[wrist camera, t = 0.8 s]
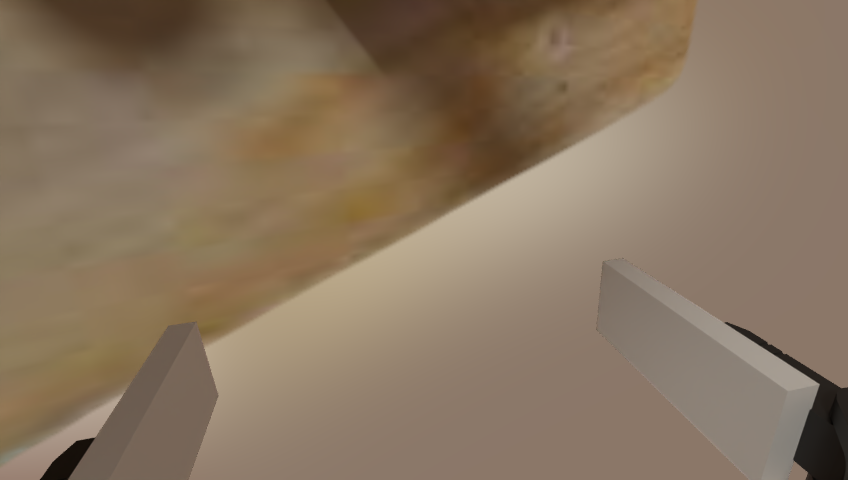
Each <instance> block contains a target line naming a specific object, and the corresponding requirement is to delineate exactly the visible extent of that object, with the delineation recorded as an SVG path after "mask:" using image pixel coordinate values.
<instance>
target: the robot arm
mask: <svg viewBox="0 0 848 480" xmlns="http://www.w3.org/2000/svg"><path fill="white" fill-rule="evenodd" d="M597 331H598V332H599V333H600V334H601V335H602V336H603V337H604V338H605V339H606V340H607V341H608V342H609V343H610V344H611V345H613V347H614V348H615V349H616V350H617V351H618V352H619V353H620V354H621V355H622V356H623V357H625V359H627V360H628V361H629V362H630V363H631V364H632V365H633V366H634V367H635V368H636V369H637V370H638V371H639V372H640V373H641V374H642V375H643V376H644V377H645V378H646V379H647V380H648V381H649V382H650V383H651V384H652V385H653V386H654V387H655V388H656V389H657V390H658V391H659V392H660V393H661V394H662V395H663V396H664V397H665V398H666V399H667V400H668V401H669V402H670V403H671V404H672V405H673V406H674V407H675V408H677V410H678V411H680V412H681V413H682V414H683V415H684V416H685V417H686V418H687V419H688V420H689V421H690V422H691V423H692V424H693V425H694V426H695V427H696V428H697V429H698V430H699V431H700V432H701V433H702V434H703V435H704V436H705V437H706V438H707V439H708V440H709V441H710V442H711V443H712V444H713V445H714V446H715V447H716V448H717V449H718V450H719V451H720V452H721V453H722V454H723V455H724V456H725V457H726V458H727V459H728V460H730V462H731V463H732V464H733V465H735V466H736V467H737V468H738V469H739V470H740V471H741V472H742V473H743V474H744V475H745V476H746V477H747V478H748V479H749V480H788V477H789V474H790V472H791V468H792V466H793V463H794V461H795V462H796V463H797V464H799V465H800V466H801V467H802V468H803V469H805V470H806V471H807V472H808V475H807V477H806V480H848V388H840V387H838V386H837V385H835V384H834V383H832V382H830V381H829V380H827V379H825V378H824V377H822V376H821V375H819V374H817V373H816V372H814V371H813V370H811V369H809V368H808V367H806V366H805V365H803V364H801V363H800V362H798V361H797V360H795V359H793V358H792V357H790V356H789V355H787V354H783V353H782V351H781V350H779V349H777V348H776V347H774V346H773V345H768V344H767V342H766V341H764V340H763V339H761V338H760V337H758V336H756V335H755V334H753V333H752V332H750V331H748V330H746V329H743V328H740V327H738V326H735V325H733V324H730V323H728V322H725V323H723V322H722V321H720V320H719V319H717V318H715V317H714V316H712V315H711V314H709V313H708V312H706V311H705V310H703V309H701V308H700V307H698V306H697V305H695V304H694V303H692V302H691V301H689V300H688V299H686V298H684V297H683V296H681V295H680V294H678V293H676V292H675V291H673V290H672V289H670V288H669V287H667V286H666V285H664V284H662V283H661V282H659V281H658V280H656V279H655V278H653V277H651V276H650V275H648V274H647V273H645V272H644V271H642V270H641V269H639V268H638V267H636V266H634V265H633V264H631V263H630V262H628V261H627V260H625V259H624V258H622V259H616V260H608V261H603V266H602V276H601V287H600V298H599V307H598V318H597ZM217 398H218V393H217V390H216V386H215V383H214V380H213V376H212V373H211V369H210V366H209V363H208V360H207V356H206V353H205V349H204V346H203V343H202V339H201V336H200V333H199V329H198V326H197V323H196V322H191V323H184V324H177V325H170V326H168V327H167V329H166V331H165V332H164V334H163V335H162V337H161V338H160V340H159V341H158V343H157V344H156V346H155V347H154V349H153V350H152V352H151V353H150V355H149V357H148V358H147V360H146V361H145V363H144V364H143V366H142V367H141V369H140V370H139V372H138V373H137V375H136V376H135V378H134V379H133V381H132V383H131V384H130V386H129V387H128V389H127V390H126V392H125V393H124V395H123V396H122V398H121V399H120V401H119V402H118V404H117V406H116V407H115V409H114V410H113V412H112V413H111V415H110V416H109V418H108V419H107V421H106V423H105V424H104V425H103V427H102V429H101V430H100V432H99V433H98V435H97V436H96V437H95V438H90V439H85V440H79V441H76V442H75V443H74V444H73V445H72V446H70V447H69V448H68V449H67V450H66V451H65V452H63V453H62V454H61V455H60V456H59V457H58V458H57V459H56V460H54V461H53V462H52V464H51V465H50V467H49V468H48V469H47V471H46V472H45V474H44V475H43V477H42V478H41V479H40V480H188V479H189V477H190V474H191V471H192V468H193V465H194V463H195V460H196V457H197V454H198V451H199V449H200V446H201V443H202V440H203V437H204V435H205V432H206V429H207V426H208V423H209V421H210V418H211V415H212V412H213V409H214V407H215V404H216V401H217Z"/></svg>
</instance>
